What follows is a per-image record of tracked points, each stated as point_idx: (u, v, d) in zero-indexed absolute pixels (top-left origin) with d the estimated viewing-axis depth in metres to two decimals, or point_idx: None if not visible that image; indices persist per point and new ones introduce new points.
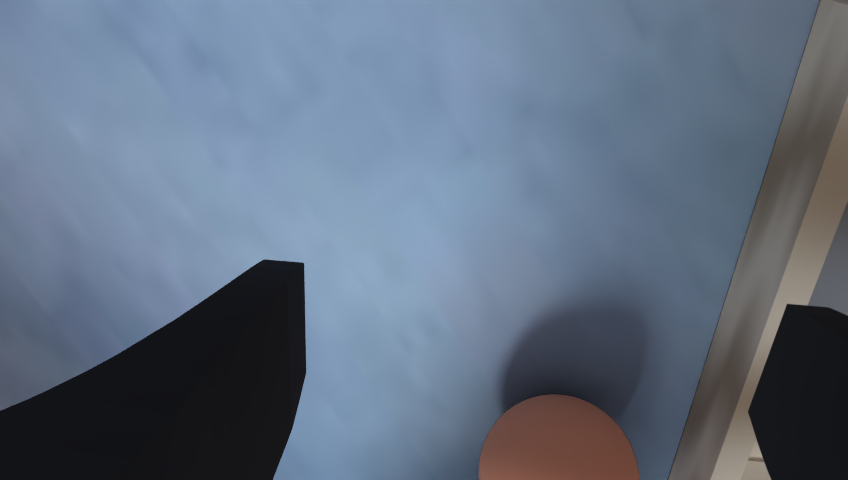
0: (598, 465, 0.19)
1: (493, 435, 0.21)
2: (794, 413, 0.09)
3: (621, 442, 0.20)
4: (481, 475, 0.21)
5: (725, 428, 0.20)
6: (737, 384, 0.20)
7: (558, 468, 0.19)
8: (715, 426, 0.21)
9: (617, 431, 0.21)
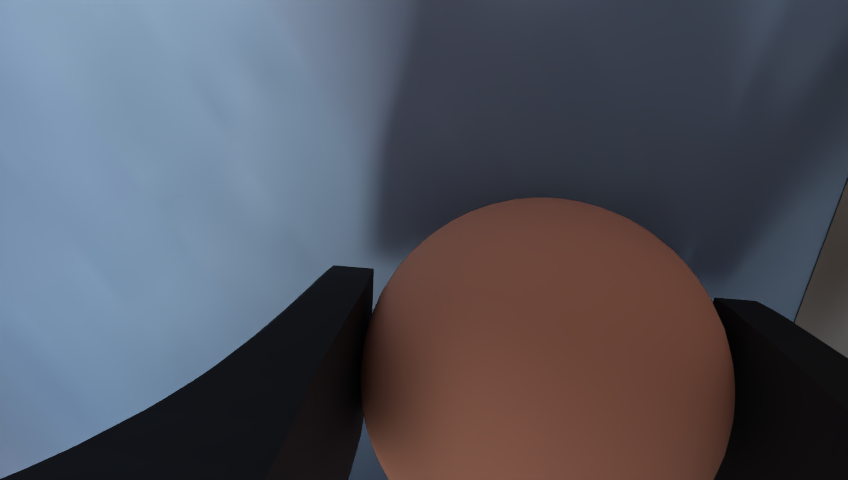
0: (642, 322, 0.07)
1: (390, 281, 0.09)
2: None
3: (694, 282, 0.08)
4: (361, 373, 0.09)
5: None
6: None
7: (537, 329, 0.07)
8: None
9: (682, 261, 0.09)
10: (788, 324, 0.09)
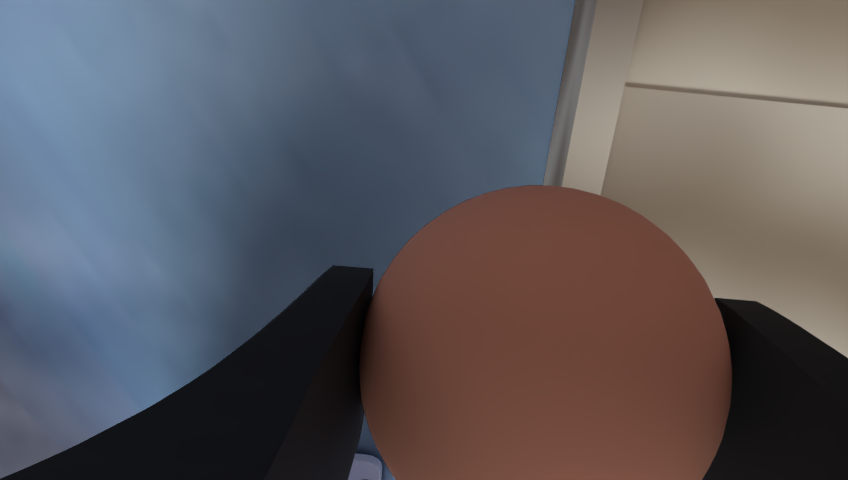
0: (636, 305, 0.07)
1: (387, 271, 0.09)
2: None
3: (690, 266, 0.08)
4: None
5: None
6: None
7: (532, 313, 0.07)
8: (590, 2, 0.14)
9: (677, 245, 0.09)
10: (789, 324, 0.09)
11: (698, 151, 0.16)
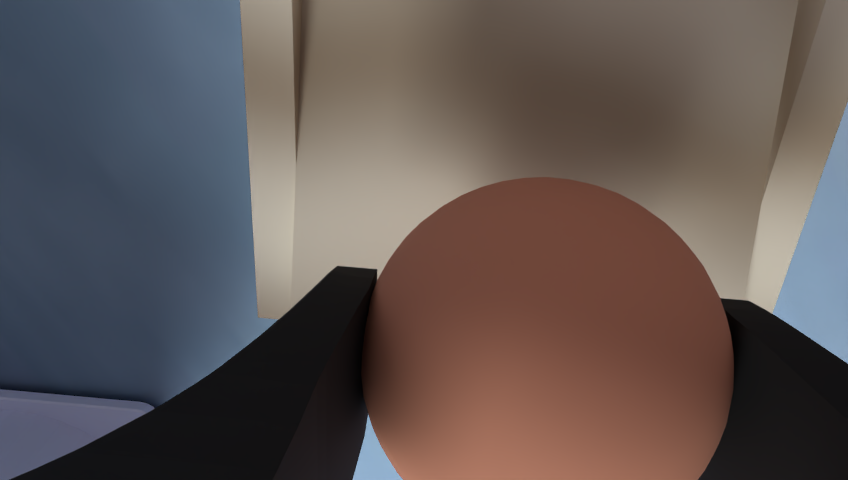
0: (635, 293, 0.07)
1: (385, 268, 0.09)
2: None
3: (687, 253, 0.08)
4: None
5: None
6: None
7: (530, 304, 0.07)
8: None
9: (674, 233, 0.09)
10: (779, 323, 0.09)
11: None
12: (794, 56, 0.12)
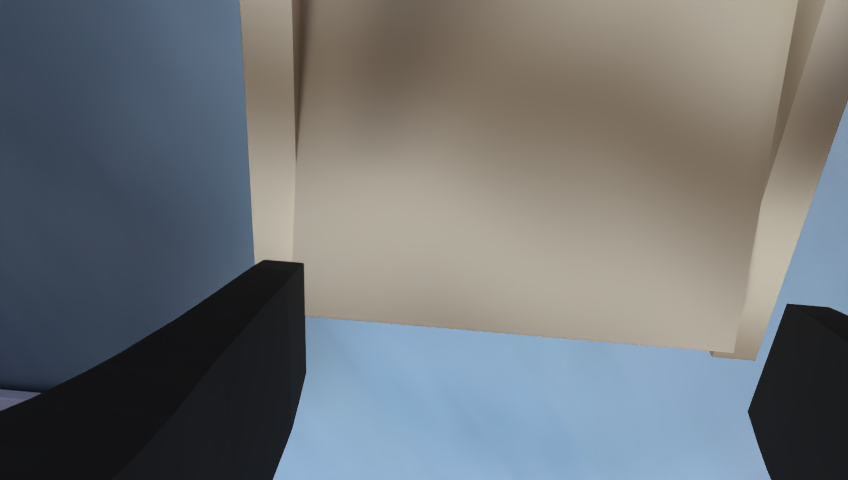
0: None
1: None
2: (794, 413, 0.09)
3: None
4: None
5: None
6: None
7: None
8: None
9: None
10: None
11: None
12: (794, 56, 0.12)
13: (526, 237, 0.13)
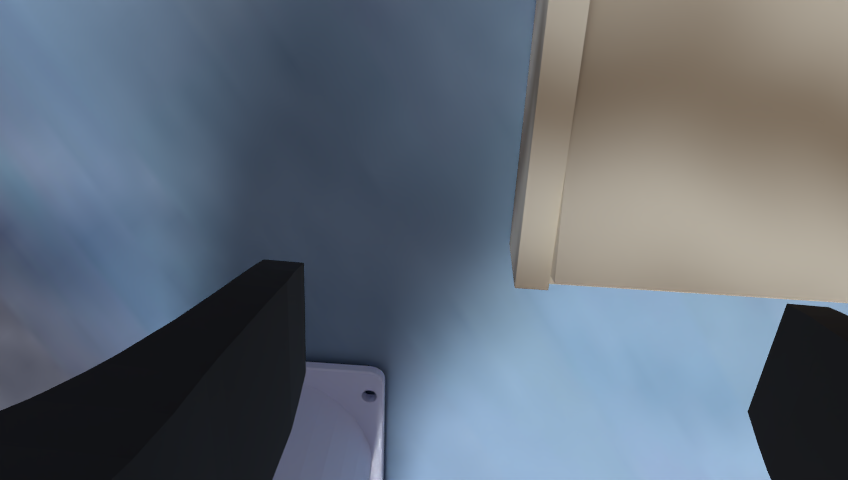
0: None
1: None
2: (794, 413, 0.09)
3: None
4: None
5: None
6: None
7: None
8: None
9: None
10: None
11: (679, 12, 0.16)
12: None
13: (745, 218, 0.17)
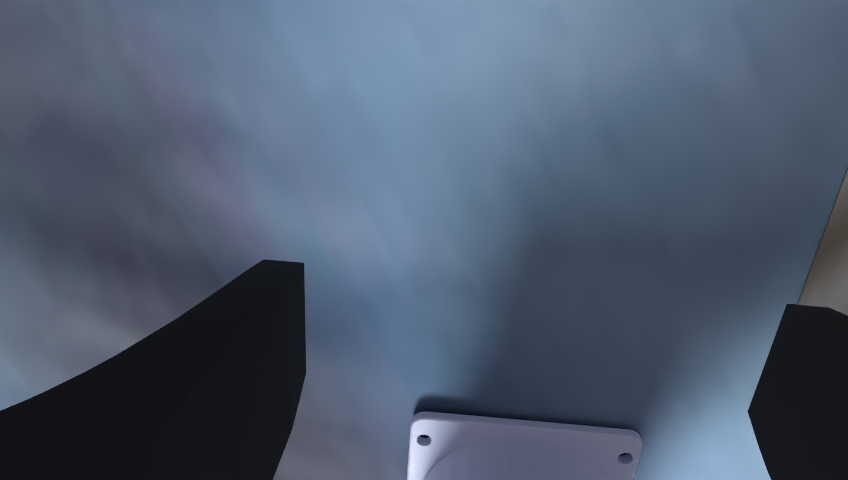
0: None
1: None
2: (794, 413, 0.09)
3: None
4: None
5: None
6: None
7: None
8: None
9: None
10: None
11: None
12: None
13: None
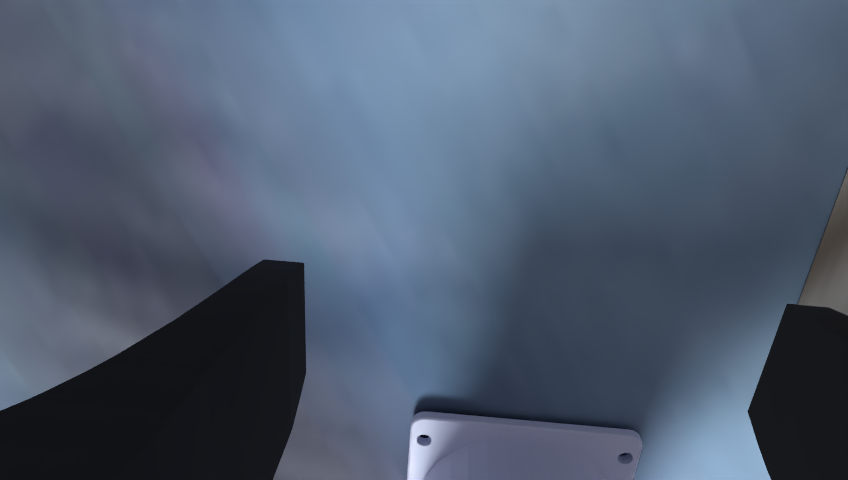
0: None
1: None
2: (794, 413, 0.09)
3: None
4: None
5: None
6: None
7: None
8: None
9: None
10: None
11: None
12: None
13: None
